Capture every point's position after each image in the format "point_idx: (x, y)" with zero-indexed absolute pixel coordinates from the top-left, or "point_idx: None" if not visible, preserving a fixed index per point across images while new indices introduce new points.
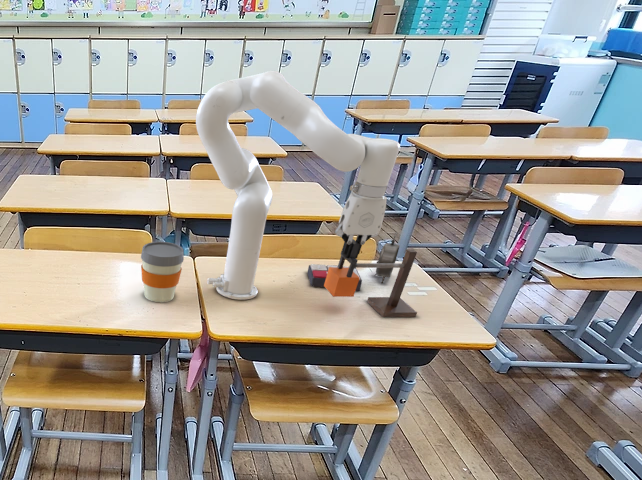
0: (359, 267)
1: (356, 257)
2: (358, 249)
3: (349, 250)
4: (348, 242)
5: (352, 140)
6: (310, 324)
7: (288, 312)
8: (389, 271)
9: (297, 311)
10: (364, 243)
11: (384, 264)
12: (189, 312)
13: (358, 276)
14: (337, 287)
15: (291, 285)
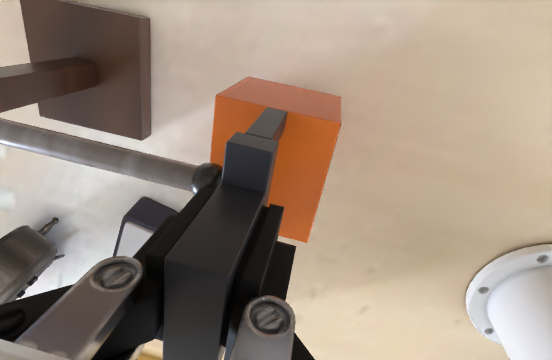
0: (181, 163)
1: (206, 189)
2: (181, 229)
3: (267, 243)
4: (280, 321)
5: None
6: (469, 19)
7: (478, 130)
8: (15, 233)
9: (437, 129)
10: (100, 262)
11: (25, 135)
12: None
13: (124, 239)
14: (333, 106)
15: (327, 277)
